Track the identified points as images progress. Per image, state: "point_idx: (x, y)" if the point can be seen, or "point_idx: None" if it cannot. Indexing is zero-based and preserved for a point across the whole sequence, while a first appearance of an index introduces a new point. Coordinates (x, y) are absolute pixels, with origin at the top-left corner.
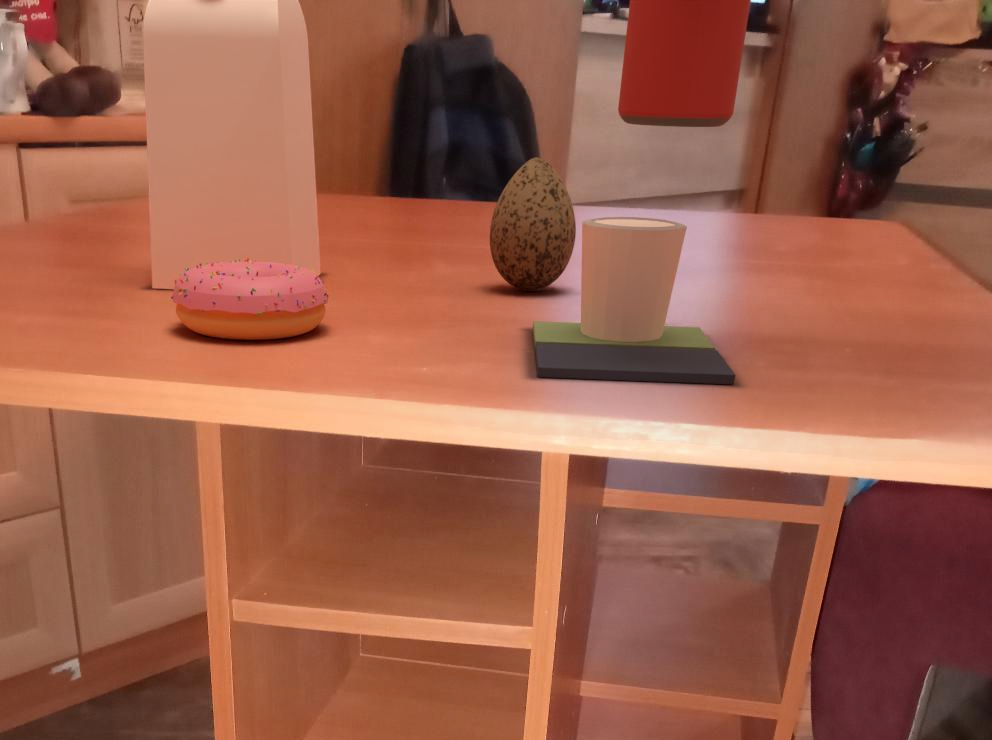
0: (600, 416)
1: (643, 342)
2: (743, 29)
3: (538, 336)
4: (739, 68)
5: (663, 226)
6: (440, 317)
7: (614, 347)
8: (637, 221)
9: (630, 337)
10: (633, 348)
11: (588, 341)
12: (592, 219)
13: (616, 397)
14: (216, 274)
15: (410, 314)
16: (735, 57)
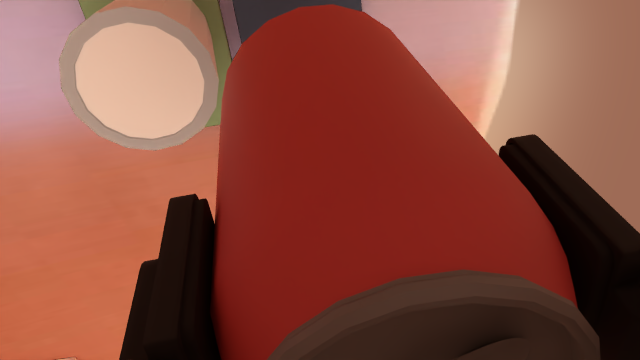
0: (499, 24)
1: (204, 6)
2: (387, 53)
3: (219, 121)
4: (350, 26)
5: (147, 41)
6: (111, 228)
7: (246, 37)
8: (103, 82)
9: (207, 24)
10: (244, 15)
11: (224, 68)
12: (142, 140)
13: (428, 15)
14: None
15: (111, 254)
16: (393, 44)
